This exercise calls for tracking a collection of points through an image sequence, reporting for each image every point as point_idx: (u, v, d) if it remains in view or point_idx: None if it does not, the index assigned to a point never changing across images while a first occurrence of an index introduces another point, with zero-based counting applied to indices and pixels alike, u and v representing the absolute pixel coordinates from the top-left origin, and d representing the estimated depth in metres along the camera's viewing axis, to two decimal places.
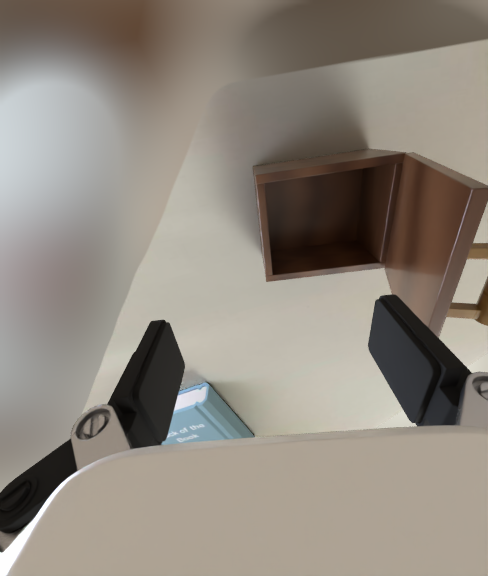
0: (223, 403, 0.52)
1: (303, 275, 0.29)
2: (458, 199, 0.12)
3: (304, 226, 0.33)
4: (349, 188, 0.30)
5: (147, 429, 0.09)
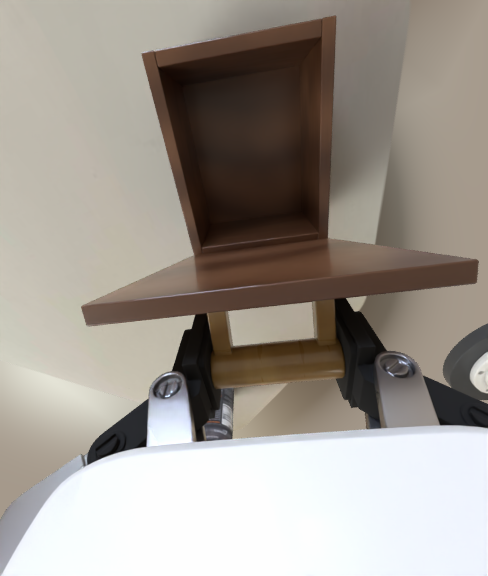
0: None
1: (166, 134, 0.17)
2: (428, 258, 0.08)
3: (224, 148, 0.24)
4: (271, 201, 0.26)
5: (207, 397, 0.09)
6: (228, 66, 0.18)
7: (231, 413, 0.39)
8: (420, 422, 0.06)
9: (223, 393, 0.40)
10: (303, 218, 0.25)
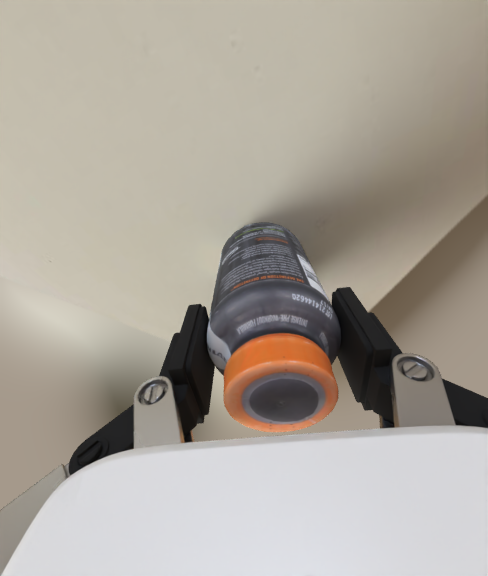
0: None
1: None
2: None
3: None
4: None
5: (195, 401, 0.09)
6: None
7: None
8: None
9: (290, 240, 0.14)
10: None
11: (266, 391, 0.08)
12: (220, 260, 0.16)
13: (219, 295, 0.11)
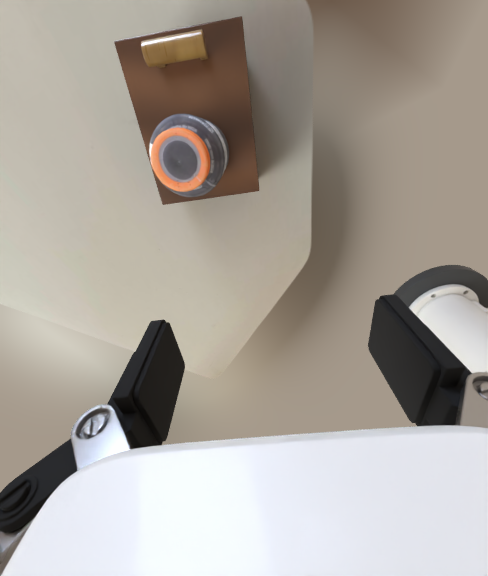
0: None
1: None
2: None
3: None
4: None
5: (147, 429, 0.09)
6: None
7: (223, 142, 0.22)
8: None
9: (210, 122, 0.23)
10: None
11: (169, 149, 0.17)
12: None
13: None
